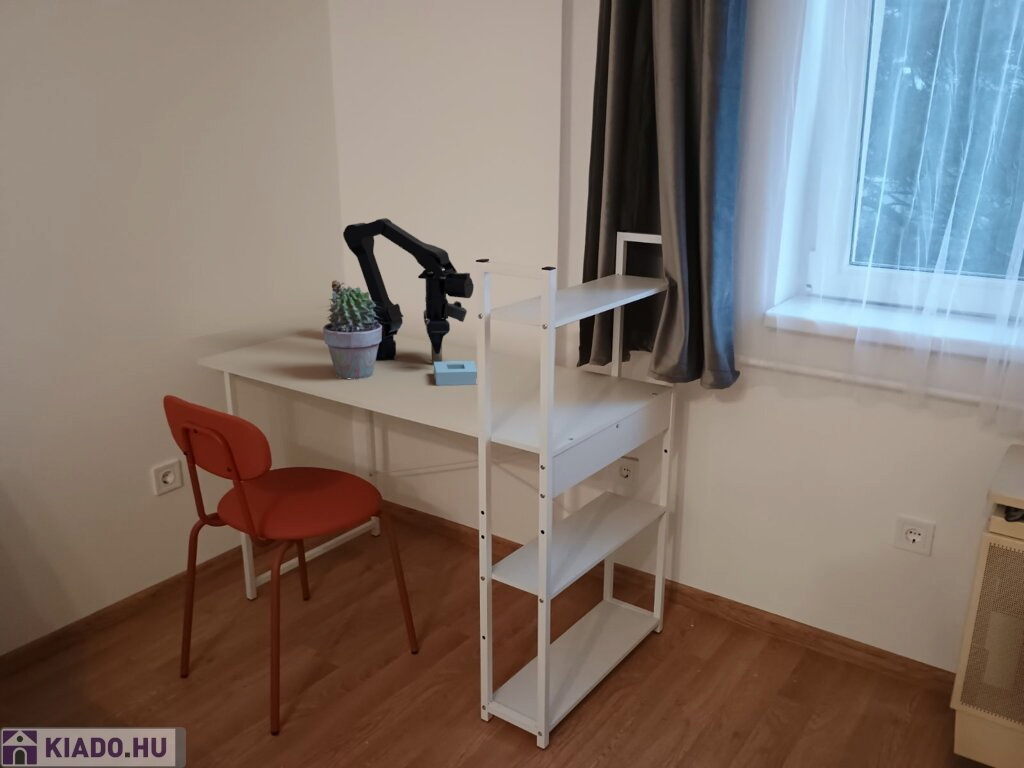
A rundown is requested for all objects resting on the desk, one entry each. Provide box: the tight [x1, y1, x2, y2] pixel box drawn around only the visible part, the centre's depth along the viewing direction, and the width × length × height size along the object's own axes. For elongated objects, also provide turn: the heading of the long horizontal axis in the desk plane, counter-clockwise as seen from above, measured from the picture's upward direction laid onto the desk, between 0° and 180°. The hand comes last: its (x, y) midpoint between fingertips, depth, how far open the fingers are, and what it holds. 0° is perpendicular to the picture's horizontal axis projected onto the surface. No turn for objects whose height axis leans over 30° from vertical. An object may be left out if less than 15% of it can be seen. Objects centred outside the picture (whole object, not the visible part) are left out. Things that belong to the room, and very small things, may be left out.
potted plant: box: [318, 280, 385, 380], centre depth 236 cm, size 18×20×25 cm
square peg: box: [430, 343, 443, 366], centre depth 250 cm, size 3×3×9 cm
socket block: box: [433, 360, 478, 387], centre depth 236 cm, size 11×11×4 cm
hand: (436, 349), depth 250 cm, fingers open, 9 cm apart
